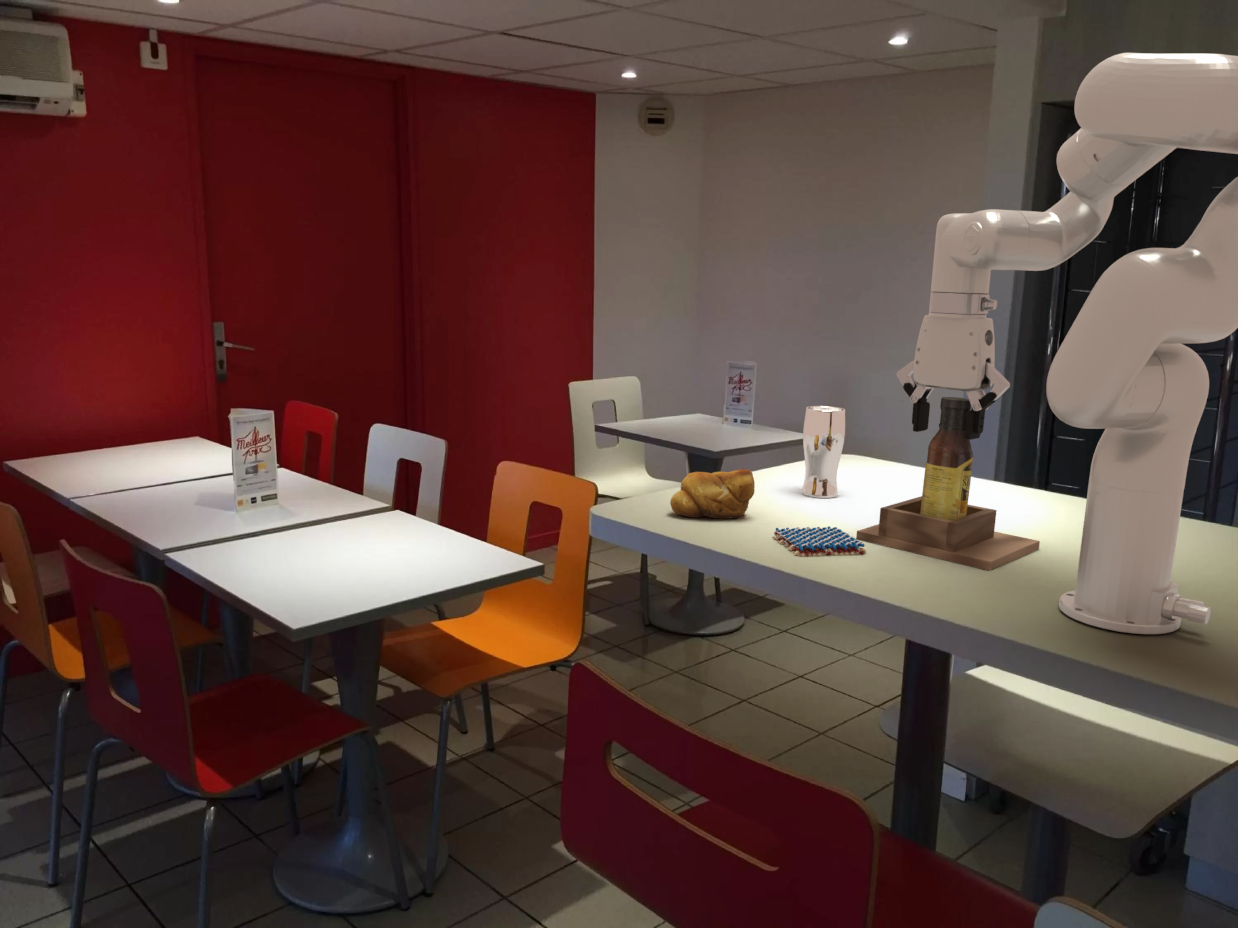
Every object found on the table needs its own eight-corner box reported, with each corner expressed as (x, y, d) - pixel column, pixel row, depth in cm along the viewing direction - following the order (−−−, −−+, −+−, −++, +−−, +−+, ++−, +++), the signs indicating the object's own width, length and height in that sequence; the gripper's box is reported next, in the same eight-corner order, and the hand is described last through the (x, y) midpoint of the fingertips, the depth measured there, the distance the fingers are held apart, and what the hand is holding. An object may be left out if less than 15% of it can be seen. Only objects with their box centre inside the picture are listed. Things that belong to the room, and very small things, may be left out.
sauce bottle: (966, 544, 140) (984, 403, 136) (919, 540, 141) (936, 399, 137) (959, 533, 147) (977, 397, 143) (915, 528, 148) (931, 393, 144)
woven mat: (836, 537, 148) (837, 524, 148) (868, 558, 138) (869, 544, 138) (769, 539, 146) (769, 526, 146) (796, 560, 136) (797, 546, 136)
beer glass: (791, 491, 176) (796, 406, 173) (824, 488, 179) (830, 405, 176) (814, 500, 170) (821, 412, 167) (848, 497, 173) (855, 410, 170)
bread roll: (674, 522, 153) (676, 470, 151) (663, 507, 162) (665, 458, 161) (757, 522, 154) (760, 471, 153) (741, 507, 164) (744, 458, 162)
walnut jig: (1038, 549, 144) (1042, 513, 143) (989, 570, 132) (993, 532, 131) (910, 521, 157) (913, 489, 156) (856, 538, 146) (859, 503, 145)
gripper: (1032, 309, 135) (1018, 440, 138) (913, 303, 147) (903, 424, 150) (1008, 310, 129) (994, 446, 133) (887, 303, 141) (876, 428, 145)
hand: (946, 433), depth 141 cm, fingers open, 7 cm apart
